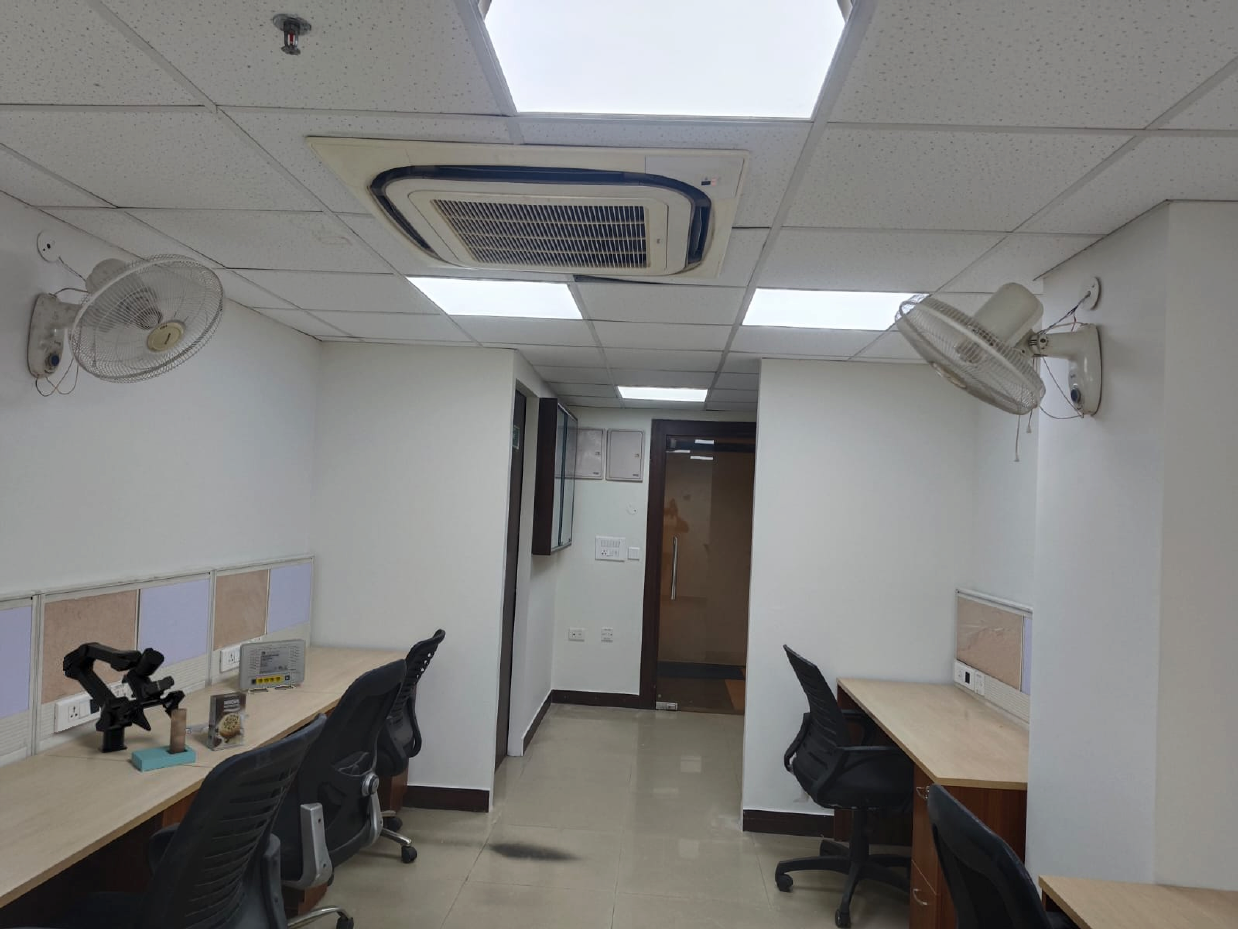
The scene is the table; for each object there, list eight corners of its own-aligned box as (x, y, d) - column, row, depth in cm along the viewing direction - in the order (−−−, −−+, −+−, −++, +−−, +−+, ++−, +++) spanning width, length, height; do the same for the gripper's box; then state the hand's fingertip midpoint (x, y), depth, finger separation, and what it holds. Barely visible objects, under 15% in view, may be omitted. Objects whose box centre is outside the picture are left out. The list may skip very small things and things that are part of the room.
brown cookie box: (214, 751, 246) (216, 698, 247) (206, 747, 250) (209, 695, 251) (244, 745, 252) (246, 694, 253) (236, 741, 257) (239, 691, 258)
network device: (299, 684, 343) (301, 638, 344) (306, 688, 336) (308, 640, 337) (236, 692, 327) (238, 643, 328) (241, 696, 320) (244, 646, 321)
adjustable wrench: (245, 718, 288) (246, 713, 288) (256, 721, 284) (256, 716, 284) (176, 732, 267) (176, 727, 267) (186, 736, 263) (186, 730, 264)
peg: (166, 763, 233) (168, 711, 234) (172, 759, 237) (175, 708, 238) (180, 763, 233) (182, 711, 234) (186, 759, 237) (189, 708, 238)
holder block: (131, 762, 234) (131, 751, 234) (183, 752, 244) (183, 742, 244) (141, 771, 225) (142, 761, 226) (195, 762, 235) (195, 751, 235)
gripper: (126, 674, 233) (149, 717, 228) (183, 663, 250) (205, 703, 245) (106, 698, 235) (129, 741, 230) (164, 686, 252) (186, 726, 247)
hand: (164, 726), depth 238 cm, fingers open, 9 cm apart
